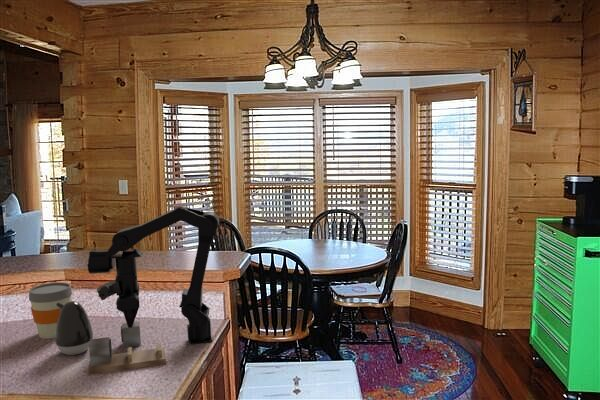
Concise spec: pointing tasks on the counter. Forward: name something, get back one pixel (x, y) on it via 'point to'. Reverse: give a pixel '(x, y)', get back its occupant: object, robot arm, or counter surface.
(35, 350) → the counter surface
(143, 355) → the rail
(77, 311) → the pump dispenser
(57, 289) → the reusable coffee cup
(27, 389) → the counter surface
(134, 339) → the block
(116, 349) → the counter surface
